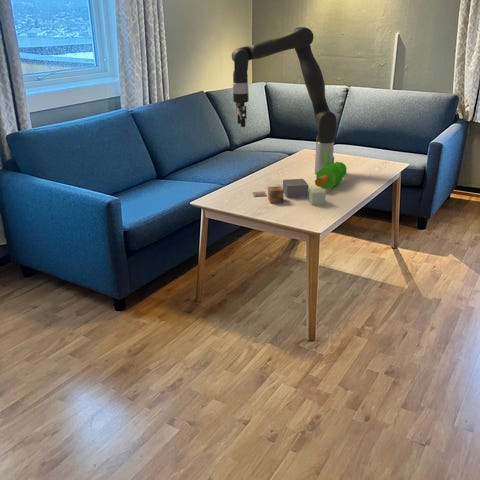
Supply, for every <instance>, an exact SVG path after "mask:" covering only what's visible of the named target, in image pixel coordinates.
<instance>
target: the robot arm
mask: <svg viewBox="0 0 480 480" xmlns="http://www.w3.org/2000/svg"><path fill="white" fill-rule="evenodd" d="M313 42H314V32H313V31H312V30H311V29H310V28H308V27H305V26H298V27H295V28H294V29H293V30H292V32H291V33H290V34H288V35H286V36H281V37H278V38H277V37H276V38H271V39H267V40H263V41H259V42H256V43H254V44H251V45H246V46H241V47H238V48H235V49H234V50H233V51H232V53H231V59H232V61H233V62H234V63H233V66H234V67H233V69H234V70H233V73H232V75H233V76H232V77H233V78H232V82H233V84H232V94H233V95H232V102H233V103H235V113H236V116H237V119H236V120H237V124H238V125H240V128H245V127H246V119H247V105H245V103H248V102H249V97H250V96H249V81H248V79H249V78H248V75H249V74H248V69H249V61H252V60H259V59H262V58H266V57H270V56H272V55H275V54H278V53H280V52H281V53H282V52H285V51H288V50H294V51H295V53H296V55H297V56H296V57H297V58H298V61H299V65H300V66H299V67H300V69H301V73H302V77H303V82H304V85H305V87H306V90H307V93H308V96H309V99H310V101H311V104H312V108H313V114H314V119H315V122H316V125H317V126H318V134H317V135H316V138H315V139H316V140H315V159H314V160H315V161H314V163H315V164H314V165H315V166H314V174H315V175H316V174H317V172H318V171H319V170H320V169H321V168H324V167H325V166H327V165H329V164H331V165H332V164H333V163H335V156H334V149H335V148H334V147H335V138H336V134H337V121H338V120H337V119H338V118H337V116H336V114H335V113H334V112H332V111H331V110H330V108H329V105H328V102H327V100H326V99H327V98H326V84H325V80H324V77H323V76H324V75H323V72H322V69H321V67H320V65H319V63H318V62H317V60H316V57H315V56H314V53H313V51H312V47H311V44H312V43H313Z"/></svg>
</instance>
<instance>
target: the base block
mask: <svg viewBox="0 0 480 480" xmlns="http://www.w3.org/2000/svg"><path fill="white" fill-rule="evenodd" d="M282 189H283V195H284V196H285V197H286V199H292V198H307V197H308V198H309V184H308V183H307V181H306V180H305V179H304V178H293V179H291V178H290V179H289V178H288V179H282Z"/></svg>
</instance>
